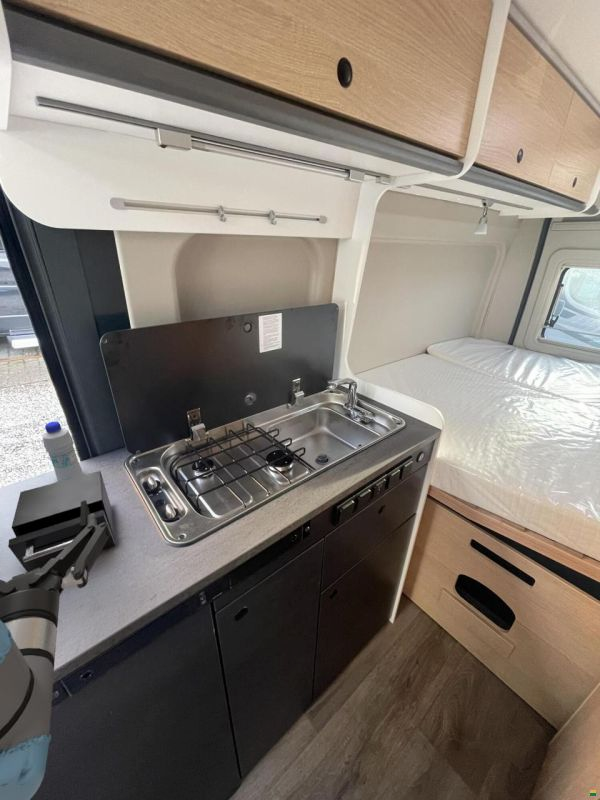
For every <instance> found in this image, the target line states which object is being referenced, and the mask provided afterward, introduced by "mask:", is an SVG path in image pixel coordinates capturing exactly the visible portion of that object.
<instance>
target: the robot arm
mask: <svg viewBox="0 0 600 800" xmlns="http://www.w3.org/2000/svg"><path fill="white" fill-rule="evenodd" d="M80 527H81V529H82V531H81V532H80V533H79V534H78V535H77V536H76V537H75V539H74V540H73V541H72V542H71V543H70V544H69V545H68V546H67V547H66V548H65V549H64V550H63V551H62V552H61V553H60V554H59V555H58V556H57V557H56V558H52V559H50V560H49V561H48V562H47V563H46V564H45V565H44V566H43V567H42V568H40V567H39V568H36V569H34V570H32V571H30V572H25V573H20V574H18V575H14V576H12V577H11V579H9V580H8V581H7V582H6V581H5V580H3V579H0V800H31V799H32V798H33V797H34V796H35V794H36V793H37V791H38V790H39V789H40V786H41V784H42V782H43V781H44V778H45V774H46V768H47V762H48V753H49V747H50V742H51V740H52V734H51V722H52V721H51V719H52V703H53V690H54V689H53V688H54V677H55V661H56V650H57V649H56V647H57V638H58V637H57V636H58V629H57V628H58V624H59V615H60V614H59V611H60V598H61V595H62V593H63V592H64V590H65V589H66V588H70V587H73V586H77V588H79V589H82V588H84V587H86V586H87V585H88V581H89V574H90V572H91V570H92V568H93V567H94V565H95V563H96V561H97V560H98V557H99V556H100V554H101V553H102V549H103V547H104V545H105V544H106V542H107V540H108V538H109V537H110V531H109V528H108V525H107V523H106V522H103V523H101V524H100V525H97V520H96V517H95V514H94V513H92V514H90V511H89V508H88V505H87V502H86V500H85V501H82V502H81V520H80ZM73 565H74V566H73ZM68 570H69V572H68ZM67 573H68V574H67Z"/></svg>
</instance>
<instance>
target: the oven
mask: <svg viewBox="0 0 600 800" xmlns="http://www.w3.org/2000/svg"><path fill="white" fill-rule="evenodd" d="M85 500H86V502H87V505H88V508H89V511H90V514H92V513H95V512H98V511H101V510H103V511H104V513H105V516H106V519H107V521H108V524H109V527H110V529H111V532H112V535H113V538H114V540H115V541H116V538H115V529H114V528H115V527H114V518H113V508H112V505H111V501H110V499H109V494H108V491H107V488H106V485H105V481H104V478H103V475H102V471H101V470H98V471H95V472H90V473H87V474H83V476H79V477H75V478H71V479H68V480H64V481H60V482H59V481H56V482H53V483H49V484H45V485H42V486H38V487H34V488H31V489H27V490H23V491H20V493H19V498H18V500H17V503H16V508H15V512H14V516H13V520H12V523H11V530H12V532H13V534H14V537H15V538H16V537H19V536H22V535H25V534H28V533H31V532H35V531H38V530H41V529H44V528H47V527H50V526H54V525H57V524H60V523H63V522H66V521H69V520H73V519H76V518H79V517H81V502H82V501H85Z"/></svg>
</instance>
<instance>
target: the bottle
mask: <svg viewBox="0 0 600 800" xmlns="http://www.w3.org/2000/svg"><path fill="white" fill-rule="evenodd" d="M44 428H45V431H46V432H44V433H43V434H42V442H43V447H44V449H45V451H46V453H48V456H49V459H50V461H51V464H52V466H53V469H54V473H55V477H56V479H57V482H60V481H64V480H68V479H71V478H75V477H79V476H83V475H84V473H83V469H82V467H81V465H80V462H79V460H78V456H77V453H76V451H75V448H74V447H75V446H74V440H73V437H72V435H71V433H70V431H69V430H68V429H67V428H66V427H62V426H61V424H60V422H58V421H50V422H47V423H46V424H45V426H44Z"/></svg>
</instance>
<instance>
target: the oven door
mask: <svg viewBox="0 0 600 800" xmlns="http://www.w3.org/2000/svg"><path fill="white" fill-rule="evenodd" d="M94 514H95V517H96V520H97V525H100V524H101V523H103V522H106V523H107V525H108V528H109V531H110V537H109V538H108V540H107V542H106V544H105V545H104V547H103V549H102V551H105V550H108V549H110V548H114V547H116V539H115V540H114V538H115V537H114V538H113V535H112V532H111V529H110V527H109V524H108V521H107V519H106V516H105V513H104V511H103V510H101V511H98V512H95V513H94ZM80 520H81V517H79V518H76V519H73V520H69V521H66V522H63V523H60V524H57V525H54V526H50V527H47V528H44V529H41V530H38V531H35V532H31V533H28V534H25V535H22V536H19V537H16V536H15V537H12V538H10V539H8V545H7V547H8V548H9V550H10V551H11V552H12V554H13V555H14V556H15V558H16V559H17V560H18V562H19V563H20V564H21V566H22V567H23V568H24V570H25V571H26V573H28V572H30V571H32V570H34V569H36V568H39V567H40V568H42V567H43V566H44V565H45V564H46V563H47V562H48V561H49V560H50V559H52V558H56V557H57V556H58V555H59V554H60V553H61V552H62V551H63V550H64V549H65V548H66V547H67V546H68V545H69V544H70V543H71V542H72V541H73V540H74V539H75V537H76V536H77V535H78V534H79V533H80V532H81V531H82V529H81V527H80ZM102 551H101V552H102Z"/></svg>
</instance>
